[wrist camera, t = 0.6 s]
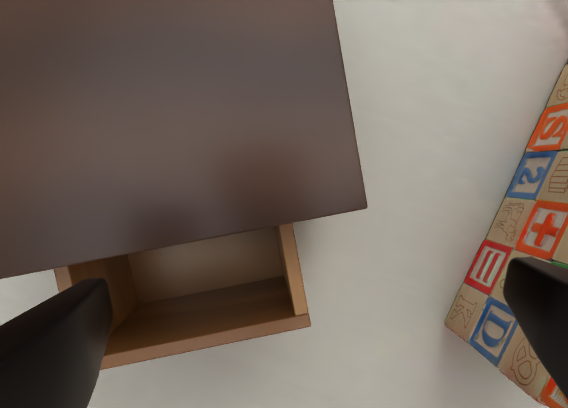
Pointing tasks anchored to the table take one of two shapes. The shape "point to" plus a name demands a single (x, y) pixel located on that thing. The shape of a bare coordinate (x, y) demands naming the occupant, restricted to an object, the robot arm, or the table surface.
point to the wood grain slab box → (198, 294)
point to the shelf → (167, 124)
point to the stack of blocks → (521, 254)
